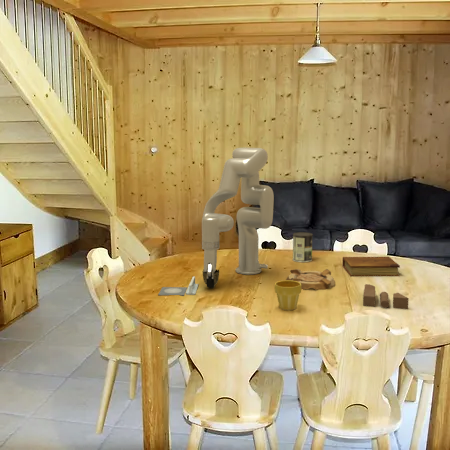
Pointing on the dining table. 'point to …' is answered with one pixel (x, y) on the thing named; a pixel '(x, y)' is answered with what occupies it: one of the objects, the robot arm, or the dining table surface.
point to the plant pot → (288, 294)
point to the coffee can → (302, 247)
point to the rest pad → (173, 291)
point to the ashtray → (313, 279)
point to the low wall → (192, 287)
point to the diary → (370, 266)
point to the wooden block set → (383, 298)
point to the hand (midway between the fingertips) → (211, 284)
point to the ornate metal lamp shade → (216, 277)
